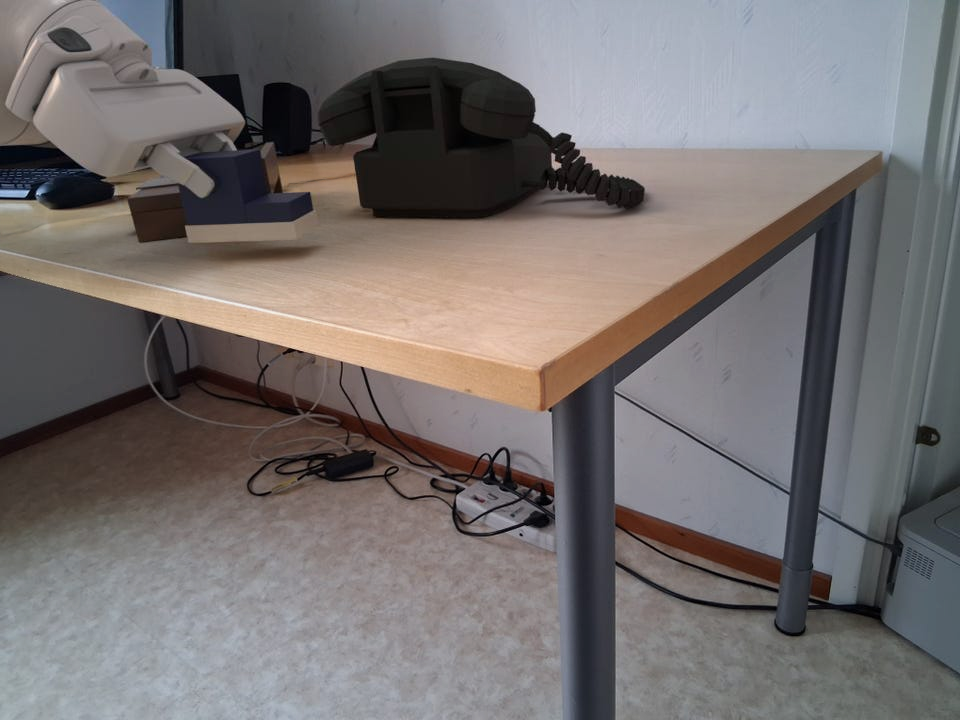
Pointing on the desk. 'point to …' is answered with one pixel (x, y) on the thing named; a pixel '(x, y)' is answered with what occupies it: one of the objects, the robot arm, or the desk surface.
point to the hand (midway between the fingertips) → (230, 184)
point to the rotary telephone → (455, 142)
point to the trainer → (243, 203)
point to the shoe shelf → (180, 202)
